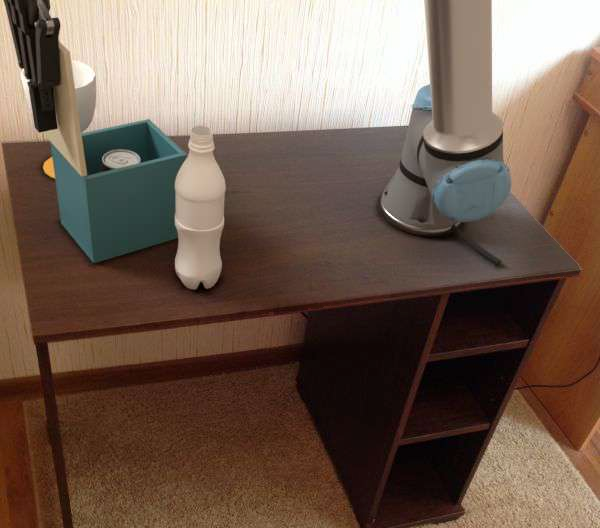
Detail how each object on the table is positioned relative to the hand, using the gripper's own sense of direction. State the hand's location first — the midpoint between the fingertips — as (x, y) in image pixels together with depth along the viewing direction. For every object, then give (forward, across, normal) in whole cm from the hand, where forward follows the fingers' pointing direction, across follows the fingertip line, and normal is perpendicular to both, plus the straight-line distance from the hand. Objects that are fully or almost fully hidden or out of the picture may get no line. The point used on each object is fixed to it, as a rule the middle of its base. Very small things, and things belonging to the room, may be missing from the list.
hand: (46, 128), depth 105 cm
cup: (+20, -21, +11) cm, 31 cm away
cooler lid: (-4, 0, +3) cm, 5 cm away
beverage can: (+20, 0, +11) cm, 22 cm away
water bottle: (+20, +17, +15) cm, 30 cm away
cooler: (+20, 0, +11) cm, 23 cm away
